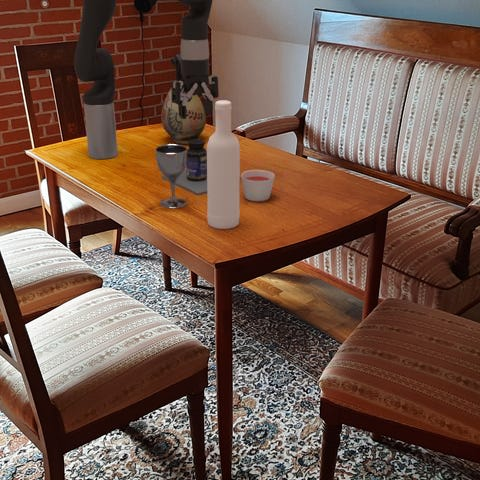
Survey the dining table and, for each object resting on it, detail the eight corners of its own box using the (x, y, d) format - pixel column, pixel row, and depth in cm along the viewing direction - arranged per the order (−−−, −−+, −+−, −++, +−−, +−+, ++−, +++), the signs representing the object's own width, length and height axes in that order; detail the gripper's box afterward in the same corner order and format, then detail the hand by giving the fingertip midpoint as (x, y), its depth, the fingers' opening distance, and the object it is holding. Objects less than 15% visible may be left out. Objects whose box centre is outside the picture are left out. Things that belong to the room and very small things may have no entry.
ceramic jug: (159, 135, 223) (155, 49, 210) (201, 133, 227) (200, 48, 214) (165, 149, 208) (161, 57, 195) (211, 146, 212) (210, 56, 199)
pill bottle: (204, 182, 178) (203, 145, 173) (183, 180, 179) (182, 143, 174) (209, 175, 183) (209, 139, 179) (189, 173, 185) (188, 137, 180)
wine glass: (176, 211, 160) (174, 155, 154) (152, 204, 164) (149, 149, 158) (194, 201, 166) (193, 147, 160) (170, 195, 170) (168, 142, 164)
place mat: (161, 177, 183) (161, 175, 183) (195, 169, 190) (195, 167, 190) (197, 195, 171) (197, 193, 170) (232, 185, 177) (232, 183, 177)
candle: (234, 195, 171) (234, 174, 168) (259, 189, 176) (260, 167, 173) (254, 206, 164) (255, 183, 161) (280, 198, 169) (281, 176, 166)
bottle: (237, 216, 158) (238, 97, 145) (241, 228, 151) (242, 105, 138) (206, 217, 157) (204, 98, 144) (208, 230, 150) (206, 106, 137)
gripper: (207, 52, 173) (208, 109, 180) (164, 57, 165) (166, 117, 172) (224, 55, 168) (224, 115, 175) (180, 61, 160) (182, 123, 167)
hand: (195, 116), depth 173 cm, fingers open, 8 cm apart
